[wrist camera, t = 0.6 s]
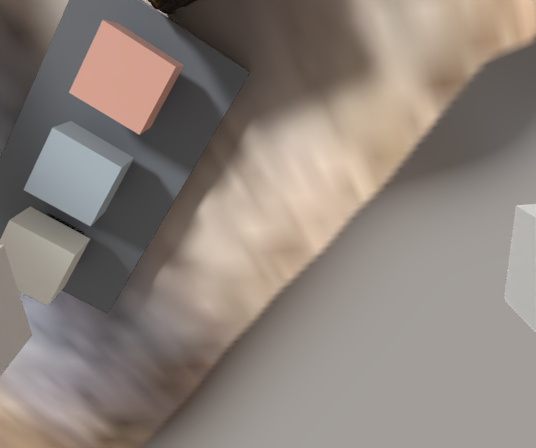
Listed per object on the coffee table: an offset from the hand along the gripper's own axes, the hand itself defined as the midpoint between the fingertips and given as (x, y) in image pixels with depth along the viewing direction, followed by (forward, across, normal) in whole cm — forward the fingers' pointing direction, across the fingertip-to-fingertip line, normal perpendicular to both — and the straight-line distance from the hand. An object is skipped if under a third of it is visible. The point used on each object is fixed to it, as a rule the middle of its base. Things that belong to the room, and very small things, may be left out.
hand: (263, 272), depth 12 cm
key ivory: (+22, -16, -7) cm, 28 cm away
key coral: (+22, -8, +4) cm, 24 cm away
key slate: (+22, -12, -2) cm, 25 cm away
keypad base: (+24, -12, -2) cm, 27 cm away
